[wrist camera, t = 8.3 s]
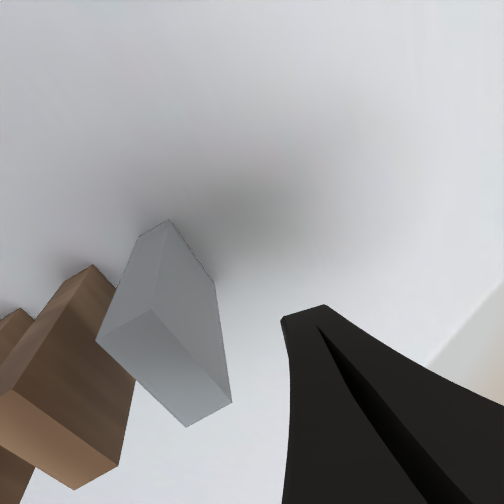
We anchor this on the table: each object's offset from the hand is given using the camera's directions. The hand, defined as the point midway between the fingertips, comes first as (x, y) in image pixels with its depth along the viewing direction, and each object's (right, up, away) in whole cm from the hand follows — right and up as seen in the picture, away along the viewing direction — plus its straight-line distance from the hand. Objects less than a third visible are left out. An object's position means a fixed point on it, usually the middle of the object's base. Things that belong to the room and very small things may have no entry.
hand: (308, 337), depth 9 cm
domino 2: (-10, -1, +10) cm, 14 cm away
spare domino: (-6, +2, +10) cm, 12 cm away
